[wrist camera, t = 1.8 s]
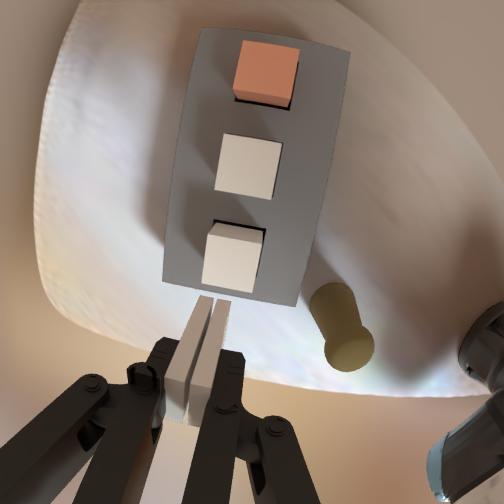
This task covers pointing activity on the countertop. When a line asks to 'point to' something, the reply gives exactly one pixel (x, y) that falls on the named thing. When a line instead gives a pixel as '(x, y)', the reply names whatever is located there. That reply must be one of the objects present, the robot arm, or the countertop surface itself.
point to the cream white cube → (247, 166)
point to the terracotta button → (265, 73)
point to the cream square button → (232, 257)
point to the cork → (341, 327)
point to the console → (261, 127)
